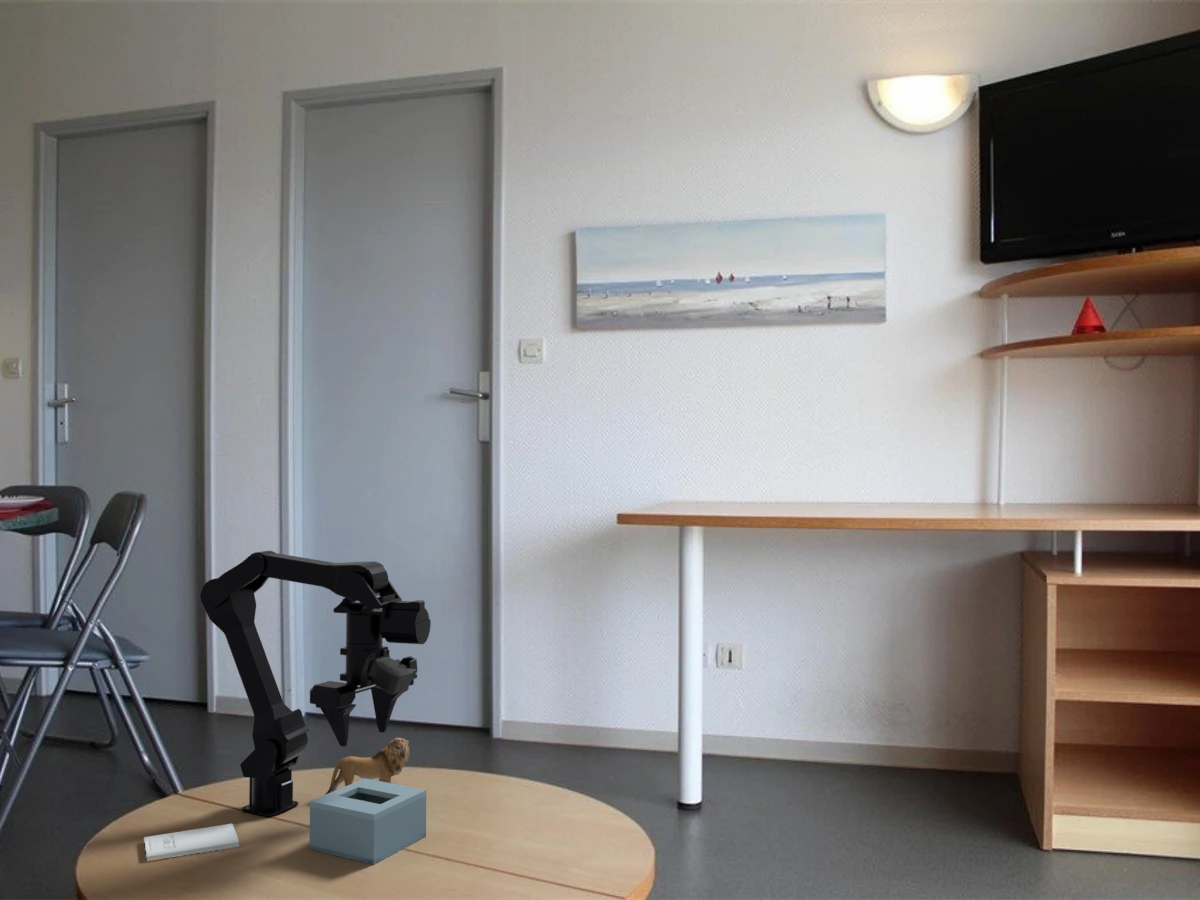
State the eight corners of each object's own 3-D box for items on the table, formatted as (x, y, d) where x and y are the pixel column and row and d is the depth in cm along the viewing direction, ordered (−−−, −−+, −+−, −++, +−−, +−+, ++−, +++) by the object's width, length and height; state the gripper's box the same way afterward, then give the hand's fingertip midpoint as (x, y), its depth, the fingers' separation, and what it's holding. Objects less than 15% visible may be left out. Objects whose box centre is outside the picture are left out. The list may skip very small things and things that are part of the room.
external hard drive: (239, 851, 145) (146, 866, 140) (231, 832, 153) (143, 846, 147) (239, 840, 145) (146, 854, 140) (232, 822, 153) (143, 835, 147)
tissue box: (309, 849, 144) (309, 801, 145) (364, 823, 155) (364, 778, 155) (373, 864, 139) (374, 814, 139) (426, 836, 150) (426, 789, 150)
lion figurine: (405, 784, 174) (405, 733, 174) (413, 793, 170) (413, 740, 170) (320, 796, 168) (320, 743, 168) (326, 806, 163) (326, 751, 163)
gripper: (364, 655, 146) (362, 761, 146) (440, 636, 163) (439, 731, 162) (307, 648, 151) (306, 751, 151) (387, 631, 168) (386, 723, 168)
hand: (363, 739), depth 158 cm, fingers open, 9 cm apart
